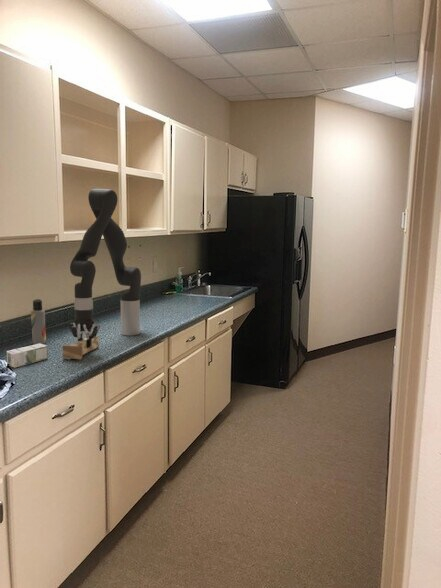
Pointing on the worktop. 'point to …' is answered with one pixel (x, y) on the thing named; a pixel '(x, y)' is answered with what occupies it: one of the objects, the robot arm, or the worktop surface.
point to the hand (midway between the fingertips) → (84, 347)
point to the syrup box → (27, 355)
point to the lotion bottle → (38, 323)
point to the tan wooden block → (79, 348)
